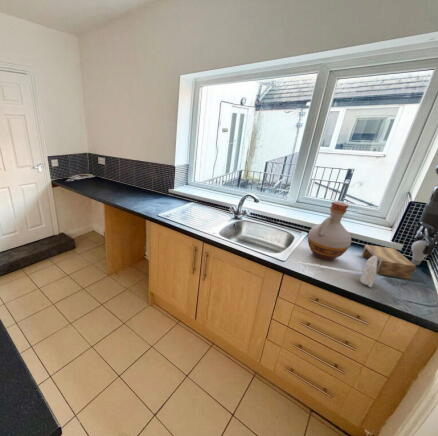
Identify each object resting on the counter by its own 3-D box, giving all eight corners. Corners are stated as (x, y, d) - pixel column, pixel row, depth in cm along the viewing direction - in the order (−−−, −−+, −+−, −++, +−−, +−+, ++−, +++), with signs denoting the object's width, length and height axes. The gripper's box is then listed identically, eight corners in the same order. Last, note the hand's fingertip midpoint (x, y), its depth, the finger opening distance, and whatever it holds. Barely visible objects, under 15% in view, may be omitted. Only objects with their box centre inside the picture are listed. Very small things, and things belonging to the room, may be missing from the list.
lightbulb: (429, 268, 99) (441, 244, 95) (414, 268, 99) (425, 244, 95) (414, 260, 105) (425, 237, 101) (400, 260, 105) (410, 237, 101)
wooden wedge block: (389, 260, 126) (394, 248, 123) (409, 279, 110) (416, 265, 107) (361, 256, 130) (365, 244, 127) (376, 273, 114) (382, 260, 111)
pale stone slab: (360, 271, 114) (369, 251, 110) (372, 274, 112) (381, 254, 108) (359, 283, 106) (368, 262, 102) (372, 287, 104) (381, 265, 99)
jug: (327, 270, 117) (347, 212, 105) (293, 252, 132) (307, 200, 120) (351, 261, 124) (372, 206, 113) (316, 245, 139) (332, 195, 128)
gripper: (466, 219, 86) (445, 260, 92) (438, 207, 99) (421, 244, 104) (437, 216, 89) (419, 257, 94) (414, 205, 101) (399, 242, 107)
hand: (420, 250), depth 99 cm, fingers closed on lightbulb, 6 cm apart
